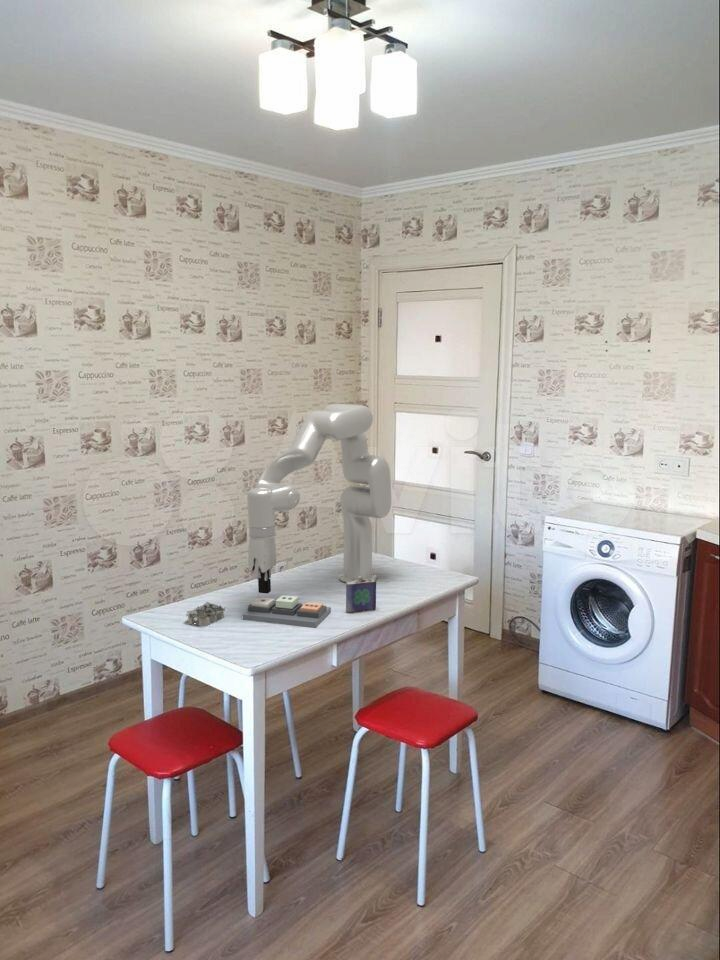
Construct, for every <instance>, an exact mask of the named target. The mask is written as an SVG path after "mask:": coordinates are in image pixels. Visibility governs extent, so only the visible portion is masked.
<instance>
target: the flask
mask: <svg viewBox="0 0 720 960" xmlns="http://www.w3.org/2000/svg"><path fill="white" fill-rule="evenodd" d="M376 609H377V581H376V580H373V579H372V580H371V579H369V580H368V579H363V578H362V575H359V579H358V581H353V582H348V583H345V612H346V614H355V613H363V612H371V611H372V612H374V611H376Z"/></svg>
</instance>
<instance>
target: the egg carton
mask: <svg viewBox="0 0 720 960" xmlns="http://www.w3.org/2000/svg"><path fill="white" fill-rule="evenodd" d="M226 609H227V607H226V606H225V607H222V605H219V604H215V603H211V602H209V601H205V603H204V604H203V605H198V606H197V607H195V608H193V609H191V610H187V611H186V613H185V617H187V620H188V621H187V622H188V623H189V625H190V624H193V625H198V627H200V626H203V627H208V625H209V626H210V625H211V623H216V622H218V619H223V618H225V616H224V613H225V612H226ZM194 623H196V624H194Z"/></svg>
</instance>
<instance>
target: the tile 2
mask: <svg viewBox="0 0 720 960" xmlns="http://www.w3.org/2000/svg"><path fill="white" fill-rule="evenodd" d="M275 601H276V607H278V608H288V609H293V608H294V607H295V606H296V605H297V604H298V603H299V596H293V595H280V597H278V598H277V599H276V600H275Z"/></svg>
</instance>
